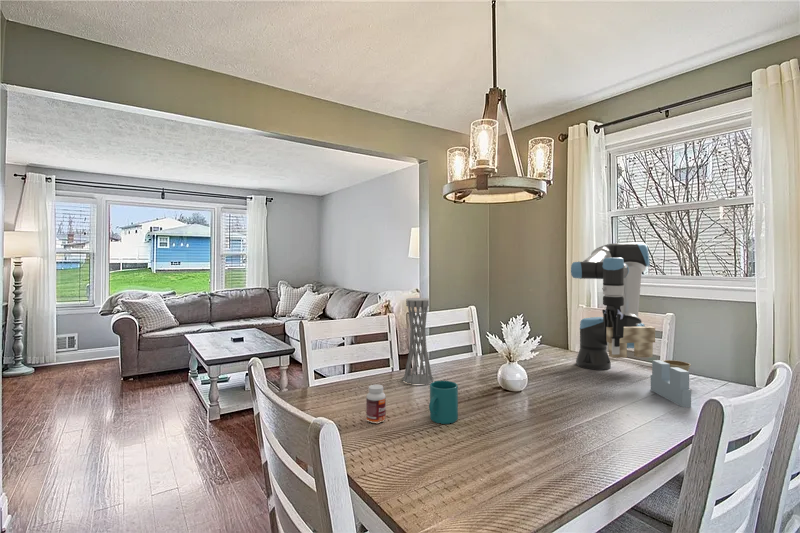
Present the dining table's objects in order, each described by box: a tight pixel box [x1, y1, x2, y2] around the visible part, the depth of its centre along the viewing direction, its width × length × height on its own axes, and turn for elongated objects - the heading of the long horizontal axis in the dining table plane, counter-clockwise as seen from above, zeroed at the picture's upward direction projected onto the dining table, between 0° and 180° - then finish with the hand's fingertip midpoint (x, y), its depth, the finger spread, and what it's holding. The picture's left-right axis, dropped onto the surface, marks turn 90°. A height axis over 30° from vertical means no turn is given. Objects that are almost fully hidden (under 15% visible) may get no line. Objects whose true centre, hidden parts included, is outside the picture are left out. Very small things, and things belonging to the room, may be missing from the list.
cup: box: [428, 380, 459, 425], centre depth 129 cm, size 9×12×11 cm
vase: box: [401, 297, 435, 385], centre depth 171 cm, size 14×13×35 cm
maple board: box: [606, 325, 656, 359], centre depth 163 cm, size 18×3×12 cm, turn 89°
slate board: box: [650, 359, 692, 408], centre depth 148 cm, size 18×3×12 cm, turn 179°
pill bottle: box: [365, 384, 387, 422], centre depth 129 cm, size 6×6×11 cm
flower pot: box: [662, 359, 692, 372], centre depth 165 cm, size 9×9×9 cm
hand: (613, 352), depth 163 cm, fingers closed on maple board, 3 cm apart
